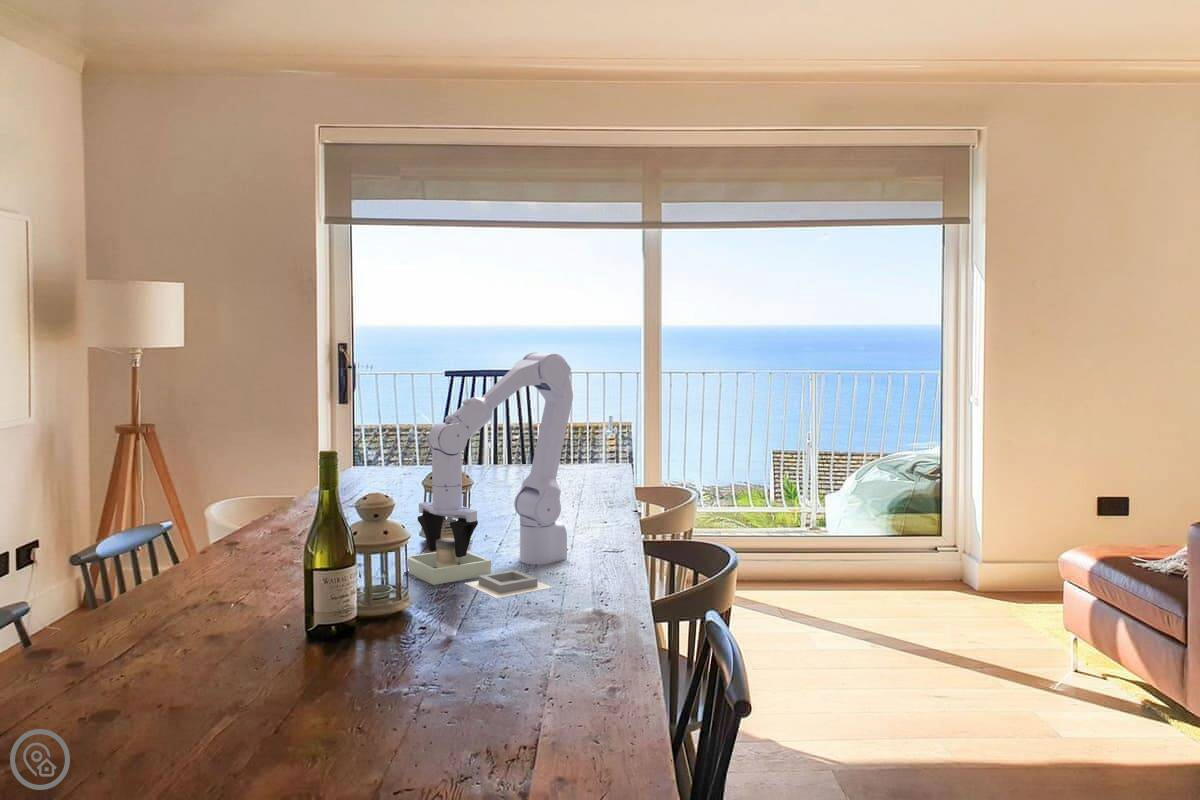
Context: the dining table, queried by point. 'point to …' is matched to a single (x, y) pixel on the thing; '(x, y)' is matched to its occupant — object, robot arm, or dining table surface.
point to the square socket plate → (507, 583)
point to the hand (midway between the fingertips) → (447, 553)
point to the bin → (448, 568)
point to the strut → (446, 552)
